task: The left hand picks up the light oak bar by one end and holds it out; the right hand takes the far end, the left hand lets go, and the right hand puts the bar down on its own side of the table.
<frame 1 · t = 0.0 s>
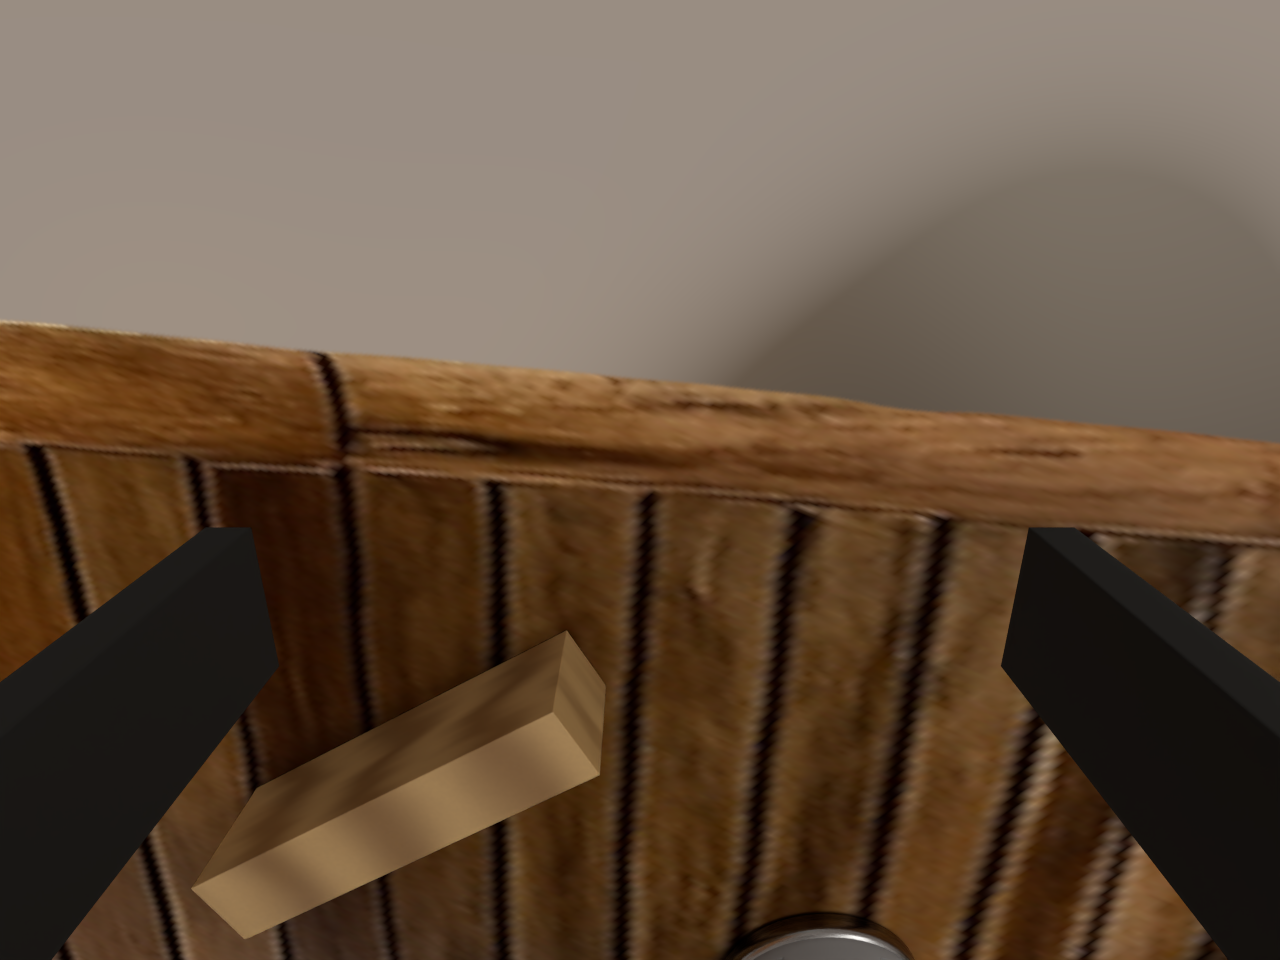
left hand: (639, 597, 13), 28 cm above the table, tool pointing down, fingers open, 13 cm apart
bar: (426, 738, 48), on the table
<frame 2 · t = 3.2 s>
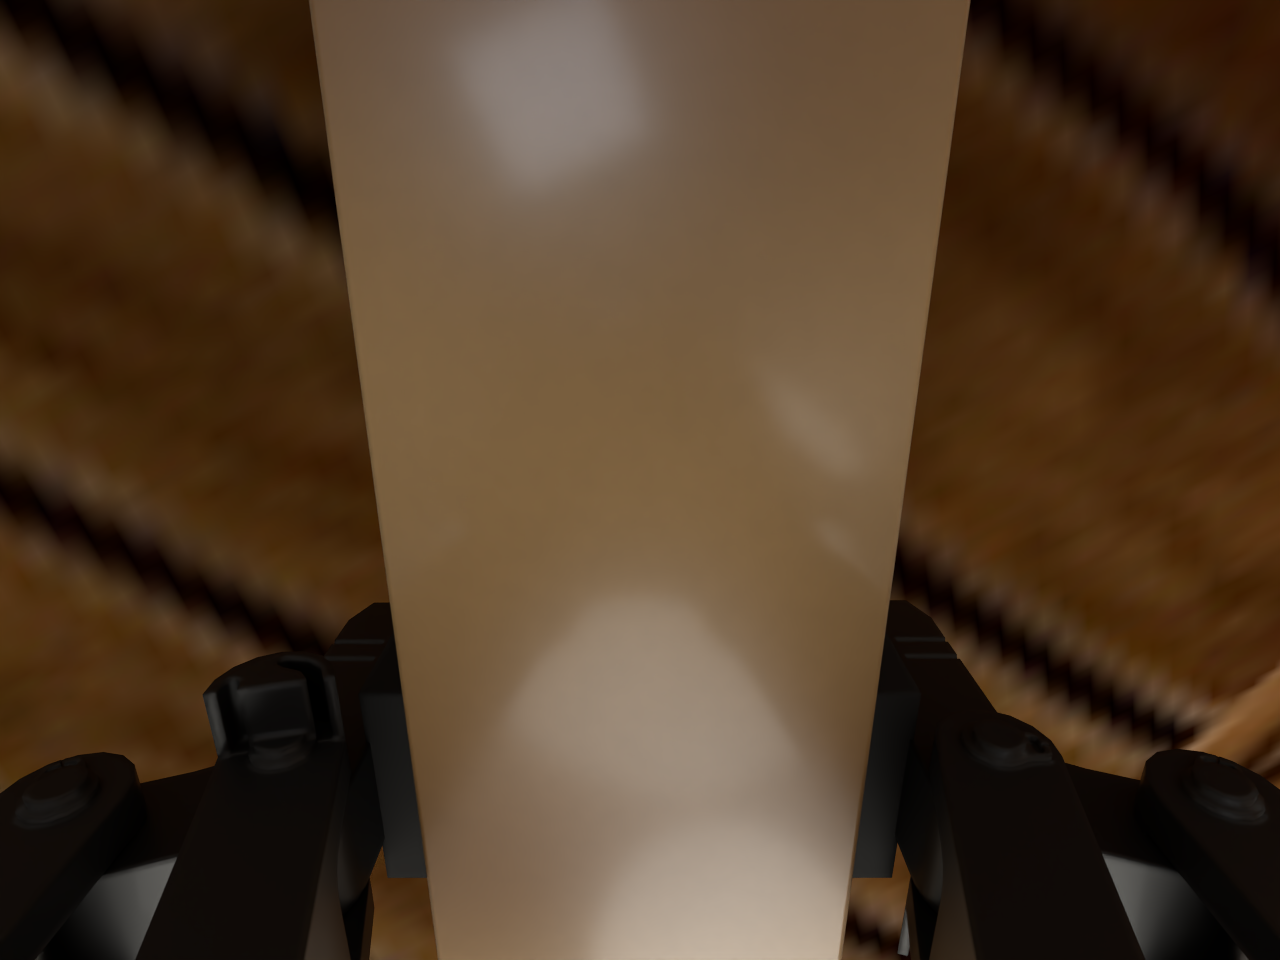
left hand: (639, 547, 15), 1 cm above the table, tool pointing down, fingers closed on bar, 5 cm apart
bar: (639, 70, 12), on the table, touching left hand
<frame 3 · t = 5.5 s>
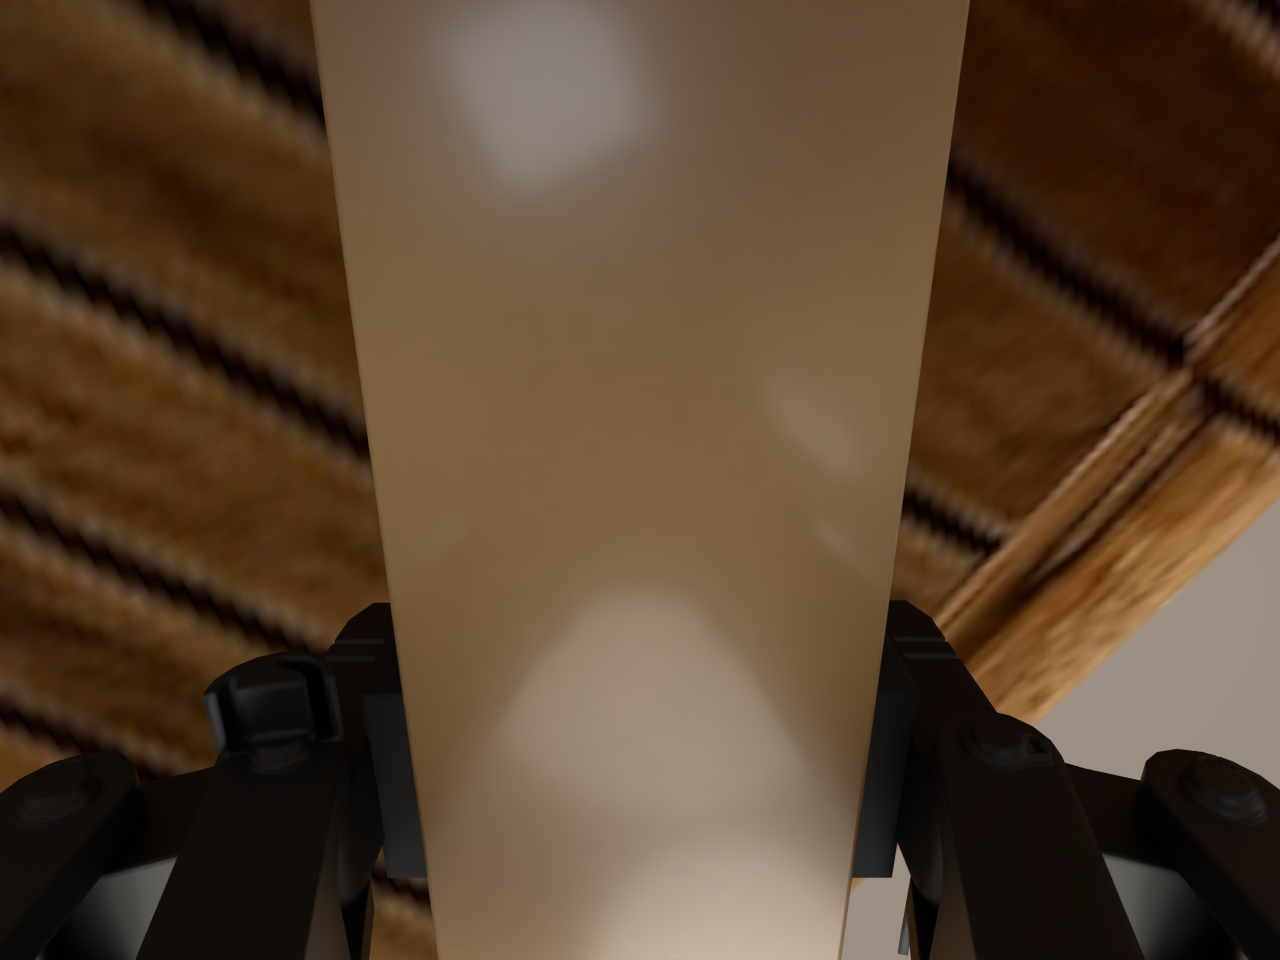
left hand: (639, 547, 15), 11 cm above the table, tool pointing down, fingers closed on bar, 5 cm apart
bar: (639, 70, 12), point 10 cm above the table, touching left hand
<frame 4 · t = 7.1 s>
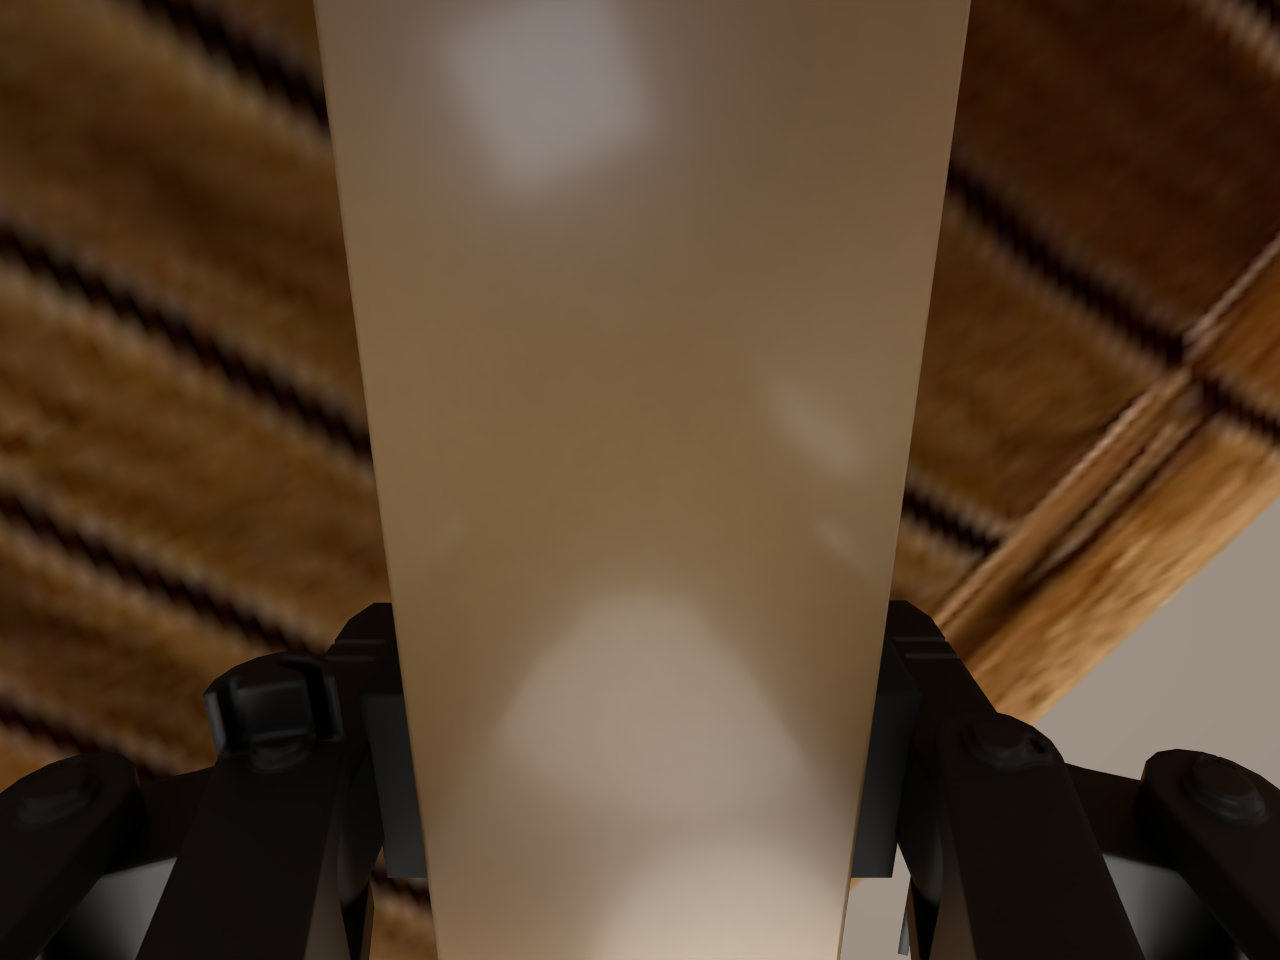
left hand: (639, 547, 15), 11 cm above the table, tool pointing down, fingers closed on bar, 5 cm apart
bar: (641, 70, 12), point 10 cm above the table, touching left hand, right hand
when the left hand's fingers open (11 cm above the table, at t = 7.9 s): bar stays where it is, held by the right hand.
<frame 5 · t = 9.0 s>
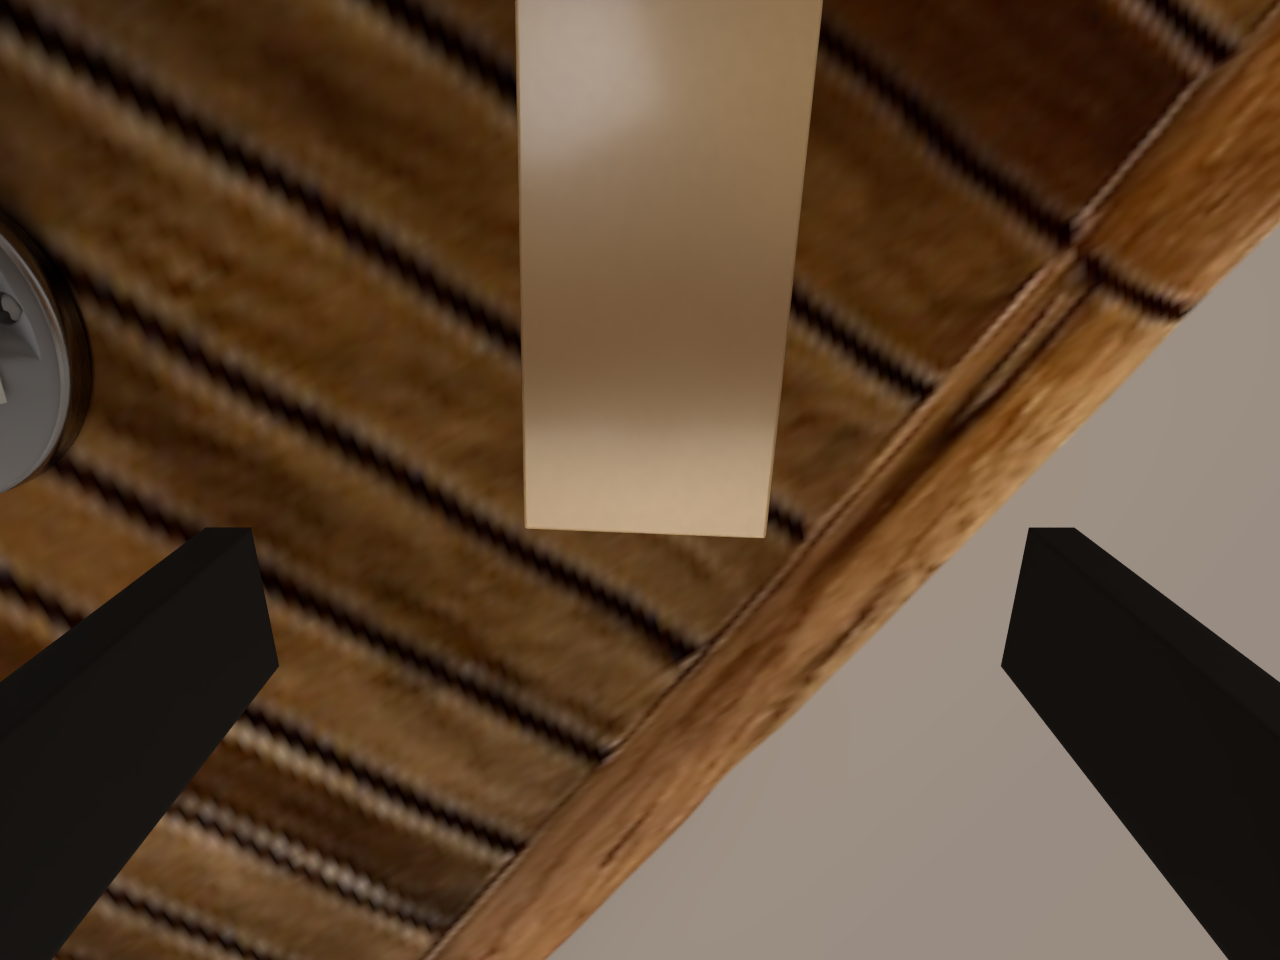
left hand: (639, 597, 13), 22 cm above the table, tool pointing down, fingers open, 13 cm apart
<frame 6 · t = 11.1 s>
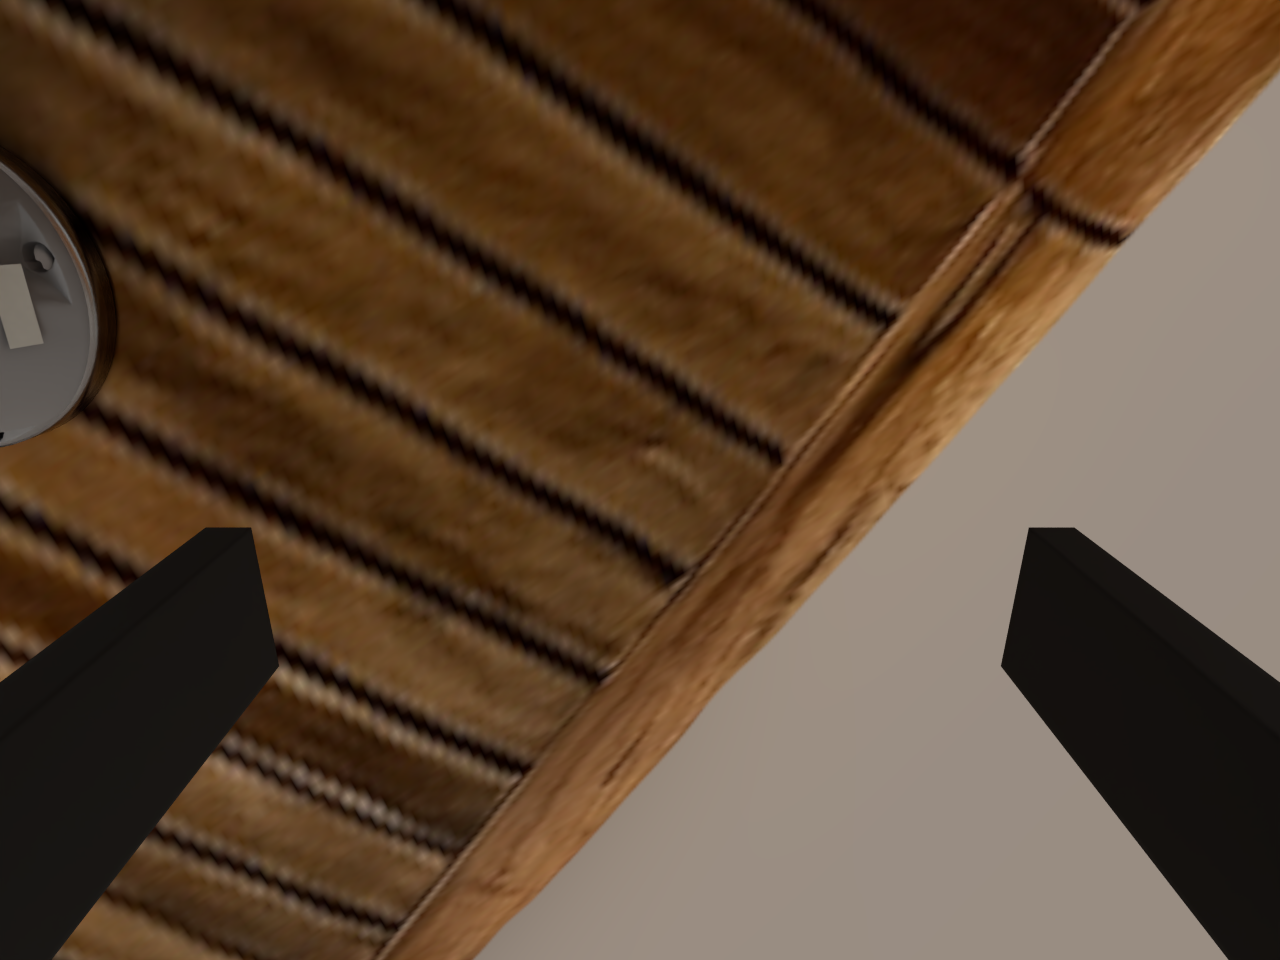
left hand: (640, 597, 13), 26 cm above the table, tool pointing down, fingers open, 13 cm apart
when the right hand's fingers open (4 cm above the table, at t = 12.7 s): bar drops 1 cm, on the table.
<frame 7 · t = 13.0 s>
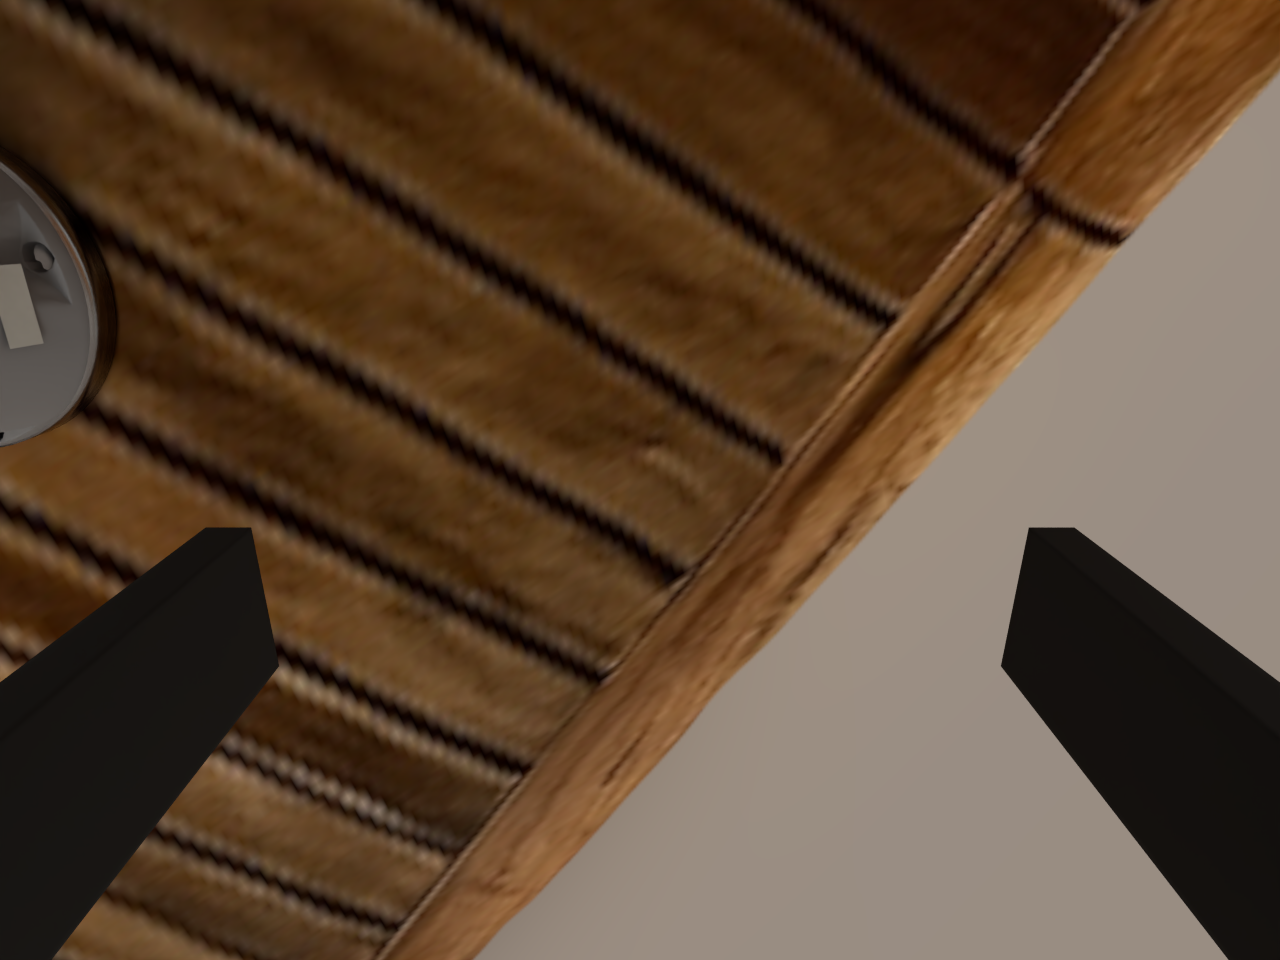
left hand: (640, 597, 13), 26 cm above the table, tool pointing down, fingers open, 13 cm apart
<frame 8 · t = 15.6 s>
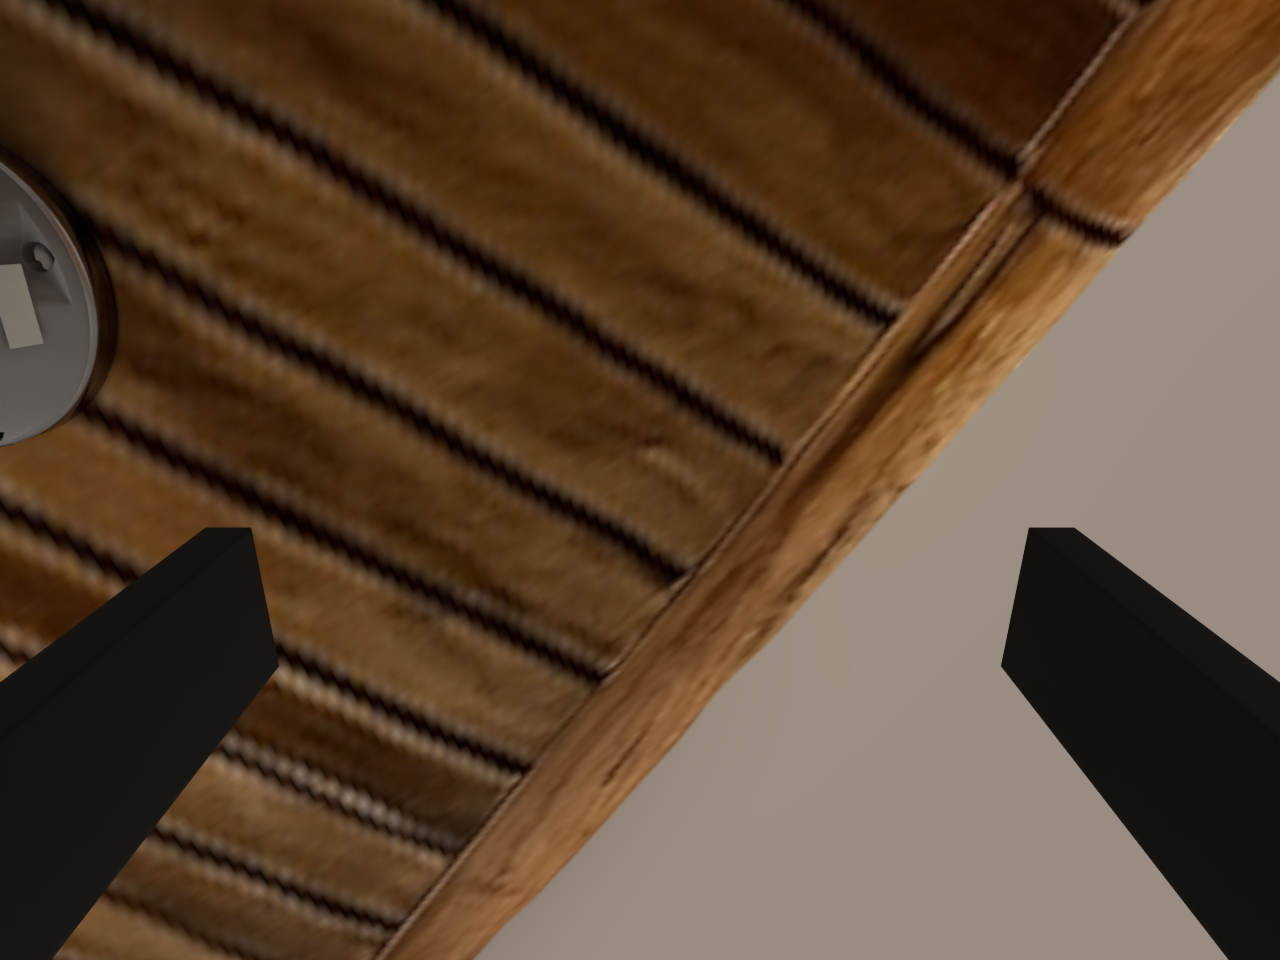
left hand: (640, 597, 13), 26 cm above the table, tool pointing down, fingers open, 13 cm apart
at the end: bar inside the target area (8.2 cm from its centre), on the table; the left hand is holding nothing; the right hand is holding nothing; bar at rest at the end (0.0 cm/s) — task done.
